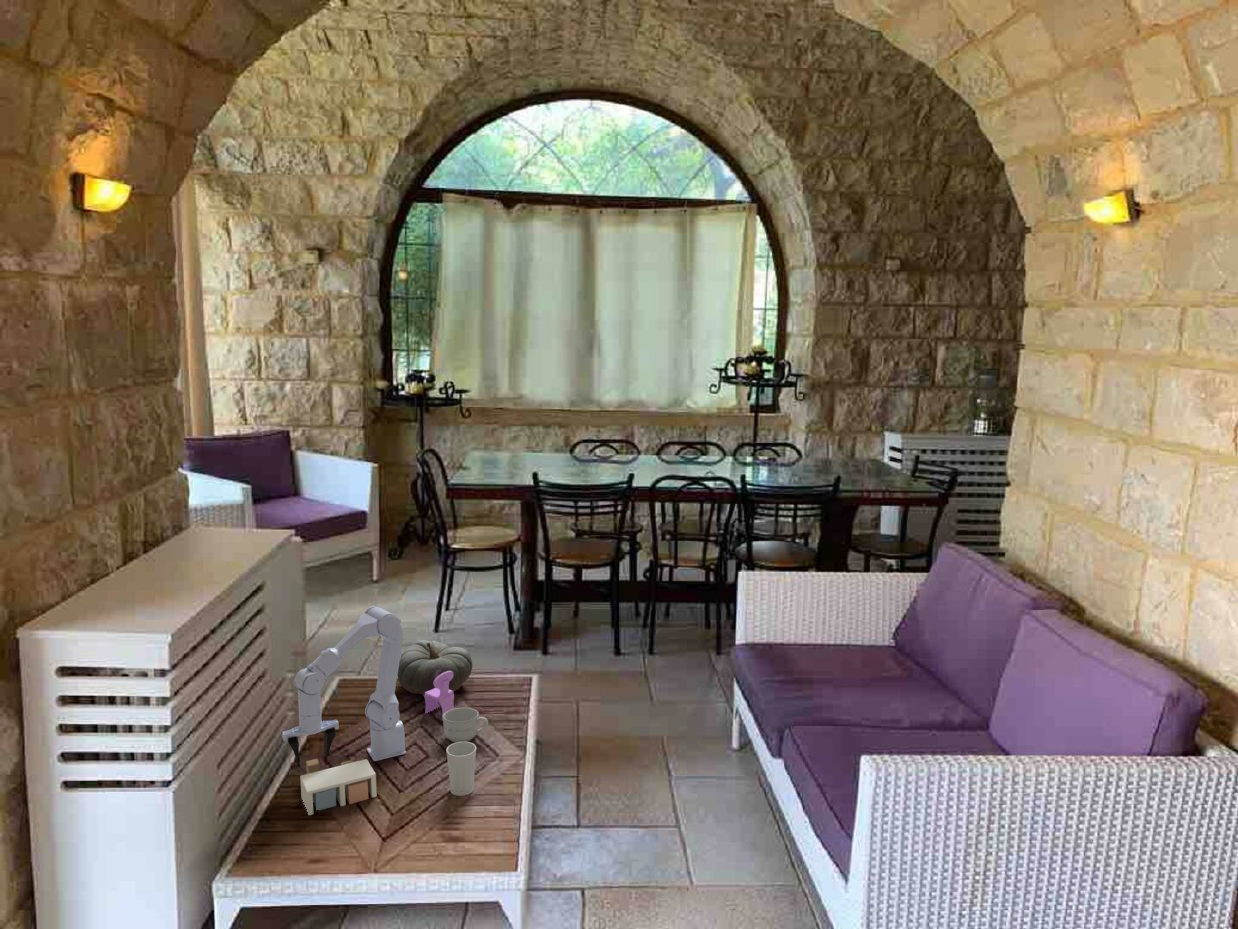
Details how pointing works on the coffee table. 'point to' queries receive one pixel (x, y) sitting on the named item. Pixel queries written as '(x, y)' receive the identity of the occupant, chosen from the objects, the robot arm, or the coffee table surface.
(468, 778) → the cup
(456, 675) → the gourd
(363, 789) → the tan block
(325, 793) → the tan and blue dumbbell
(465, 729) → the teacup
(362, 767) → the shelf
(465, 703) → the coffee table surface
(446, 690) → the toy chair
